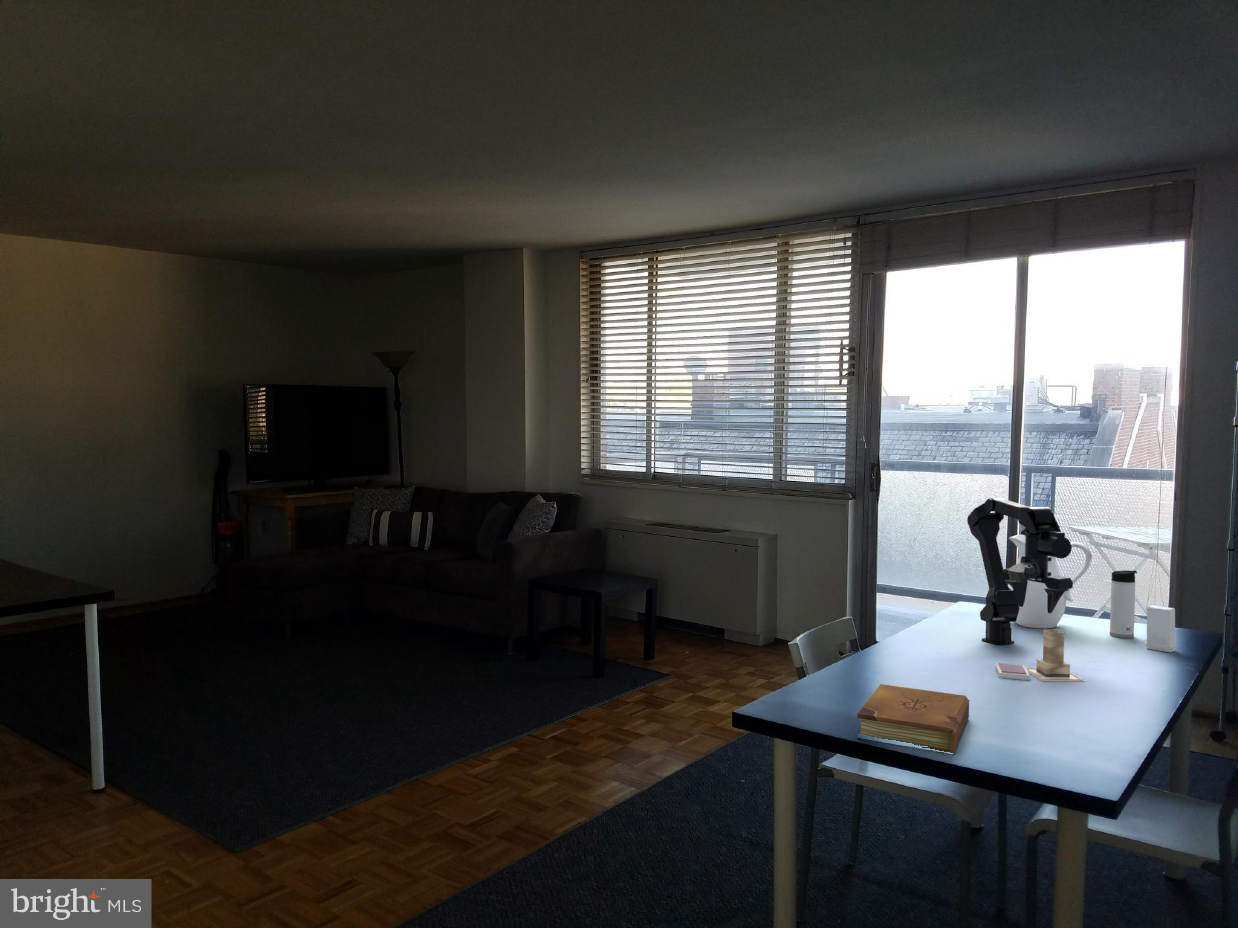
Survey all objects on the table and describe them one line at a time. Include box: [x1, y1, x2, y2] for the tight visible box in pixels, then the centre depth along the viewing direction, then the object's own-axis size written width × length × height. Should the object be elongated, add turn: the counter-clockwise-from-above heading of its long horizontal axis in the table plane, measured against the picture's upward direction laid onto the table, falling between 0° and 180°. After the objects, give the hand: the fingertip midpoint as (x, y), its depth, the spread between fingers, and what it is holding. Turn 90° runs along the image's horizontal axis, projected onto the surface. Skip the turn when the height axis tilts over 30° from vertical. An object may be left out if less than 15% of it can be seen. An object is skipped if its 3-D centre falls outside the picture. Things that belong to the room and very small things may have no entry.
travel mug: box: [1109, 569, 1138, 639], centre depth 261 cm, size 6×7×20 cm
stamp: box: [1035, 629, 1071, 677], centre depth 220 cm, size 6×5×11 cm
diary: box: [856, 683, 970, 754], centre depth 182 cm, size 23×19×6 cm
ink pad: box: [994, 663, 1031, 681], centre depth 222 cm, size 9×7×2 cm
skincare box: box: [1146, 605, 1176, 653], centre depth 245 cm, size 6×4×12 cm
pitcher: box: [1007, 534, 1093, 629], centre depth 273 cm, size 24×17×28 cm
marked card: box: [1026, 667, 1086, 682], centre depth 221 cm, size 10×10×1 cm
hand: (1035, 609), depth 237 cm, fingers open, 9 cm apart
